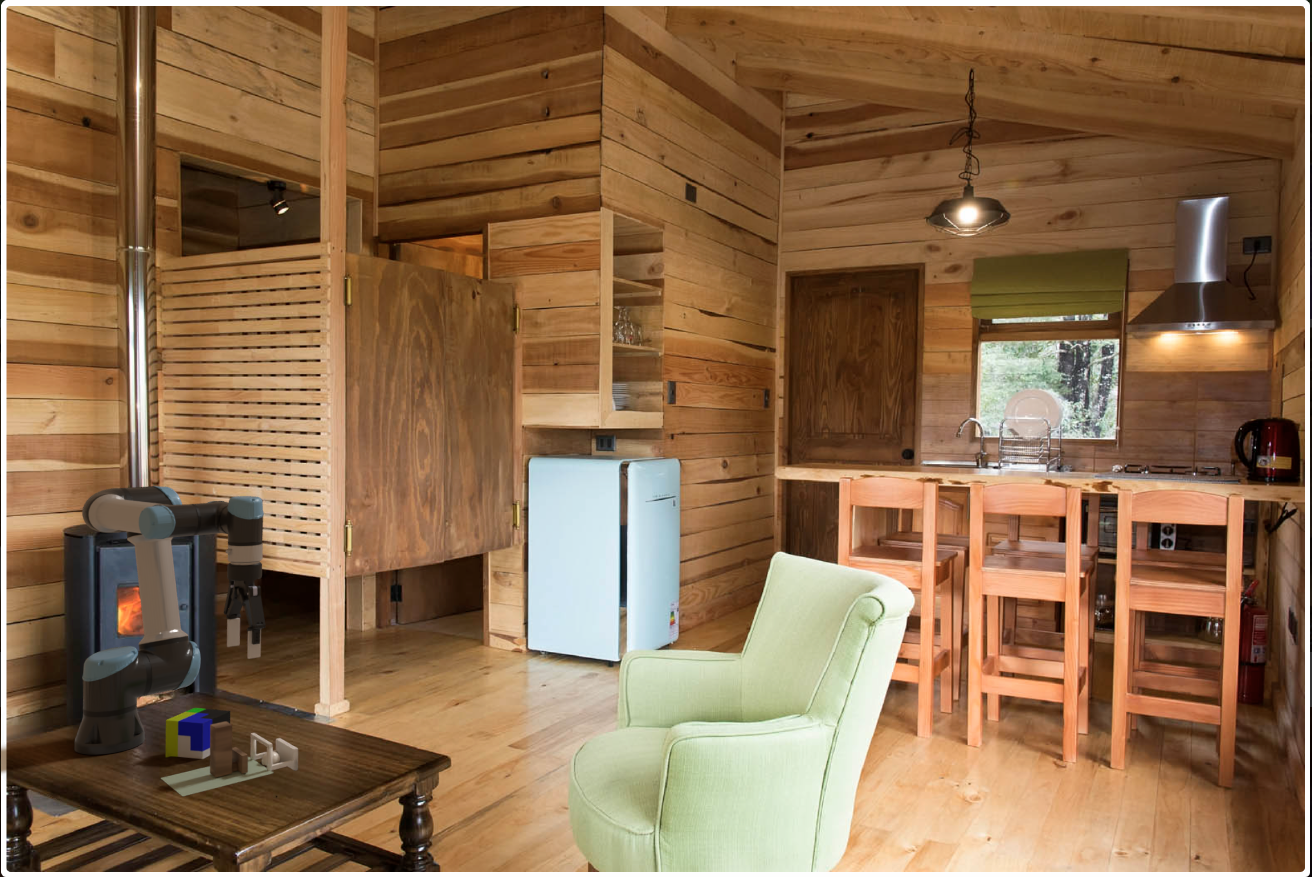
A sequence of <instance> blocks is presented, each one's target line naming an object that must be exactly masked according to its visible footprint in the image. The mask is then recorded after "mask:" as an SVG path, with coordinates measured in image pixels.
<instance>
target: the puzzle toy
mask: <svg viewBox="0 0 1312 877" xmlns="http://www.w3.org/2000/svg"><path fill="white" fill-rule="evenodd" d="M221 722H228V723H230V724H231V710H226V709H225V710H224V709H212V708H200V707H194V708H191V709H189V710H186V711H184V712H182V713H180V714H177V715H175V716H172V717H170V718H168V719H166V720H165V758H169V757H176V758H177V757H178V758H189V759H199V760H204V759H206V758H207V757H210V725H211V724H216V723H221Z"/></svg>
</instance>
